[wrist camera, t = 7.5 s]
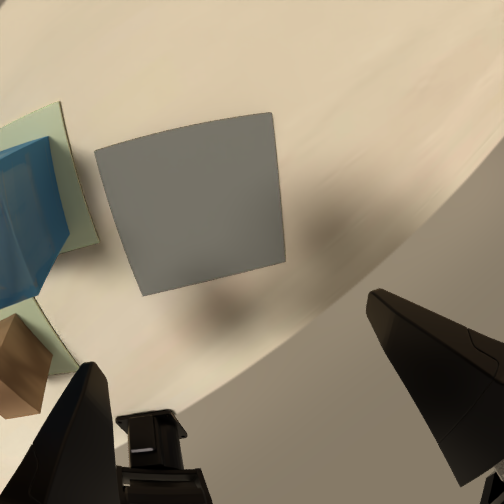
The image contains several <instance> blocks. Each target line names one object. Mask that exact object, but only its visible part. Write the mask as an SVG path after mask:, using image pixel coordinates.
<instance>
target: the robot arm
mask: <svg viewBox="0 0 504 504" xmlns="http://www.w3.org/2000/svg"><path fill="white" fill-rule="evenodd" d="M366 314H367V317H368V319H369V321H370V323H371V325H372V327H373V329H374V331H375V333H376V335H377V338H378V339H379V342H380V344H381V346H382V348H383V350H384V352H385V354H386V355H387V357H388V359H389V360H390V362H391V363H392V365H393V366H394V368H395V370H396V372H397V373H398V375H399V376H400V378H401V380H402V382H403V383H404V385H405V387H406V388H407V390H408V392H409V393H410V395H411V397H412V399H413V400H414V402H415V404H416V406H417V407H418V409H419V411H420V412H421V414H422V416H423V418H424V419H425V421H426V423H427V425H428V426H429V428H430V430H431V432H432V434H433V436H434V437H435V439H436V441H437V443H439V444H438V445H439V447H440V449H441V451H442V453H443V454H444V457H445V458H446V460H447V462H448V464H449V466H450V468H451V470H452V472H453V474H454V476H455V478H456V480H457V482H458V484H459V485H460V487H462V486H464V485H466V484H467V483H469V482H471V481H472V480H474V479H475V478H477V477H479V476H480V475H482V474H483V473H484V472H486V471H488V470H489V469H491V468H492V467H493V468H494V469H495V471H494V472H493V473H492V474H490V475H489V476H488V477H487V478H486V481H485V486H484V490H483V494H482V498H481V502H480V504H504V343H503V342H500V341H497V340H495V339H492V338H489V337H487V336H485V335H483V334H480V333H478V332H476V331H474V330H472V329H469V328H468V329H467V327H465V326H463V325H461V324H459V323H456V322H454V321H452V320H450V319H448V318H445V317H443V316H441V315H439V314H437V313H435V312H432V311H430V310H428V309H426V308H423V307H421V306H419V305H417V304H415V303H413V302H410V301H408V300H406V299H404V298H401V297H399V296H397V295H395V294H392V293H390V292H388V291H386V290H384V289H380V288H379V289H376V290H373V291H371V292H370V293H369V294H368V300H367V306H366ZM115 422H116V423H117V425H118V426H119V427H120V428H121V429H123V430H124V431H125V432H126V433H127V434H128V451H129V452H128V453H129V467H122V466H117V465H116V464H115V452H114V436H113V421H112V414H111V407H110V399H109V391H108V382H107V379H106V377H105V375H104V374H103V372H102V371H101V370H100V368H99V367H98V366H97V364H96V363H95V362H85V363H83V364H81V366H80V367H79V369H78V370H77V372H76V373H75V375H74V376H73V378H72V379H71V381H70V382H69V384H68V386H67V387H66V389H65V390H64V392H63V393H62V395H61V396H60V398H59V400H58V401H57V403H56V404H55V406H54V408H53V409H52V411H51V413H50V414H49V416H48V417H47V419H46V421H45V422H44V424H43V426H42V427H41V429H40V431H39V433H38V434H37V436H36V438H35V439H34V441H33V445H31V446H30V448H29V450H28V452H27V453H26V455H25V457H24V459H23V460H22V462H21V464H20V465H19V467H18V468H17V470H16V471H15V473H14V475H13V476H12V478H11V479H10V481H9V482H8V484H7V485H6V487H5V488H4V490H3V491H2V493H1V494H0V504H213V503H212V499H211V496H210V494H209V491H208V488H207V485H206V483H205V480H204V477H203V474H202V471H201V469H200V468H197V469H188V470H187V469H186V470H184V466H183V460H182V454H181V448H180V441H179V439H182V438H186V437H187V433H186V431H185V430H184V429H183V427H182V426H181V424H180V423H179V422H178V420H177V419H176V417H175V416H174V415H173V413H172V412H171V411H168V410H166V411H160V412H154V413H147V414H140V415H133V416H125V417H117V418H116V419H115ZM123 484H130V486H123Z"/></svg>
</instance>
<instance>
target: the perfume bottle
mask: <svg viewBox="0 0 504 504" xmlns="http://www.w3.org/2000/svg"><path fill="white" fill-rule="evenodd" d="M69 235H70V232H69V229H68V225H67V222H66V218H65V214H64V211H63V207H62V203H61V199H60V194H59V190H58V186H57V181H56V176H55V172H54V166H53V161H52V156H51V150H50V144H49V138H48V136H45V137H42V138H39V139H36V140H32V141H29V142H26V143H23V144H20V145H17V146H14V147H11V148H8V149H6V150H3V151H0V310H1V309H3V308H6V307H8V306H11V305H14V304H16V303H19V302H21V301H24V300H27V299H29V298H32V297H34V296H37V295H38V294H39V292H40V290H41V288H42V286H43V284H44V282H45V280H46V278H47V276H48V274H49V272H50V270H51V268H52V266H53V264H54V262H55V260H56V258H57V256H58V254H59V253H60V251H61V249H62V247H63V245H64V243H65V242H66V240H67V238H68V236H69Z"/></svg>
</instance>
